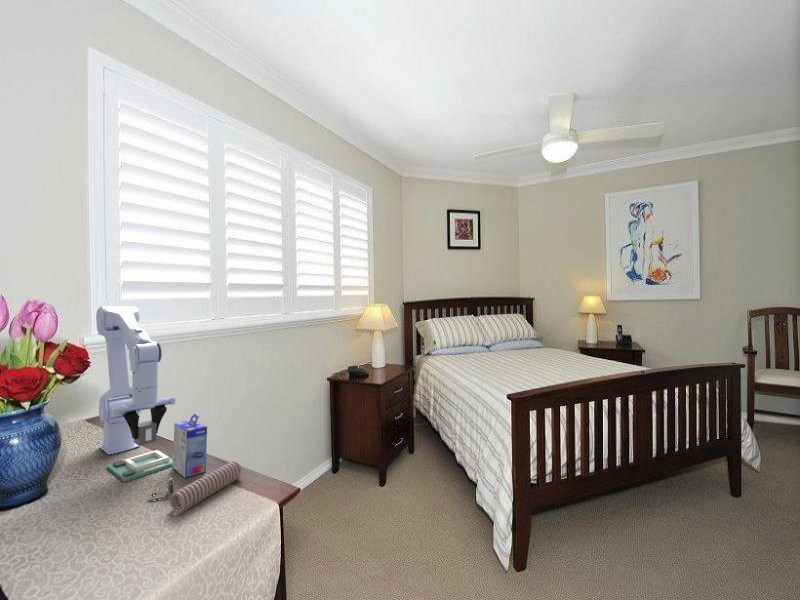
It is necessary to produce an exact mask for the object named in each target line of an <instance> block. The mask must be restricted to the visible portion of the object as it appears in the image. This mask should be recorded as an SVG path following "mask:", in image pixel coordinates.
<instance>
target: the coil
mask: <svg viewBox="0 0 800 600" xmlns="http://www.w3.org/2000/svg"><path fill="white" fill-rule="evenodd" d="M241 476H242V467H241V464H240V463H239V461H237V460H232V461H230V462H227V463H226V464H224V465H222V466H220V467H219V468H217V469H215V470H214V471H211V472H209V473H207V474H206V475H203V476H202V477H201V478H198V479H197V480H195V481H192V482H191V483H189V484H187V485H185V486H184V487H181V489H178V490H176V491H177V492H175V491H174V493H173V494H172V495H171V497H169V504H170V507H171V508H172V509H173V511H174V512H173V513H172V515H173V514H180V515H181V514H182V513H184V511H185V512H186V511H187V509H188V510H189V509H190V508H193V507H194V506H196V505H198V504H199V503H200V502H202V501H204V500H206V499H207V498H210V496H212V495H213V493H214V494H215V493H217V492H219V491H220V490H223V488H225V487H227V486H228V485H230V484H232V483H233V482H235V481H237V480H238V479H239V478H241ZM216 491H217V492H216ZM206 497H207V498H206ZM203 499H204V500H203ZM198 502H199V503H198ZM195 504H196V505H195ZM192 506H193V507H192ZM178 507H179V508H178ZM175 510H177V511H175Z"/></svg>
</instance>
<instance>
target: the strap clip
mask: <svg viewBox="0 0 800 600" xmlns="http://www.w3.org/2000/svg"><path fill="white" fill-rule="evenodd" d="M166 487H167V488H166V489H167V490H163V491H157V492H153V493H150V494H149V497H148V498H147V502H148V501H153V500H159V499H164V498H166V497H167V496H168V497H167V498H170V497H171V495H172V494H173V493H174V492H177V491H178V490H175V489H174V482H173V477H172V476H171V477H169V479H168V481H167V485H166ZM153 495H155V496H153ZM151 496H152V497H151ZM150 498H151V499H150ZM167 498H166V499H167ZM164 500H165V499H164ZM159 501H160V500H159Z"/></svg>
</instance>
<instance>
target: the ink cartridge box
mask: <svg viewBox="0 0 800 600" xmlns="http://www.w3.org/2000/svg"><path fill="white" fill-rule="evenodd" d="M199 417H200V416H199V415H197V414H196V413H193V414H192V416H191V417H190V419H189V420H183V421H180V422H176V423H174V427H173V448H172V449H173V450H172V460H173V466H172V468H173V469H174V470H175V471H177V473H179V474H180V475H181V476H182V477H183V478H190V477H192V476H193V477H194V476H195V475H200V474H203V473H206V472H207V446H208V445H207V443H208V442H207V438H208V426H207V425H204V424H203V423H201V422H199V421H198V420H199ZM193 418H195V419H193Z"/></svg>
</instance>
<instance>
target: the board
mask: <svg viewBox="0 0 800 600" xmlns="http://www.w3.org/2000/svg"><path fill="white" fill-rule="evenodd" d="M171 467H173V458H171V457H170V456H168V454H167V455H166V454H165V453H163V452H162V451H160V450H158V449H156V450H153V451H149V452H146V453H142V454H139V455H136V456H133V457H132V456H131V457H129V458H125V459H121V460H120V459H119V460H118V461H114V462H113V461H112V463H109V464H106V469H107V470H108V471H110V472H111V473H112V474H114V475H115V476H116V477H117V478H118V479H120V480H121V481H123V483H126V481H127V482H129V481H132V480H136V479H138V478H142V477H145V476H147V475H150V474H153V473H156V472H159V471H162V470H165V469H167V468H168V469H169V468H171Z"/></svg>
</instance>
